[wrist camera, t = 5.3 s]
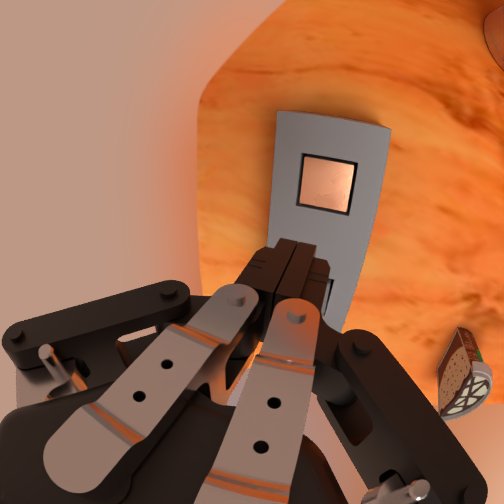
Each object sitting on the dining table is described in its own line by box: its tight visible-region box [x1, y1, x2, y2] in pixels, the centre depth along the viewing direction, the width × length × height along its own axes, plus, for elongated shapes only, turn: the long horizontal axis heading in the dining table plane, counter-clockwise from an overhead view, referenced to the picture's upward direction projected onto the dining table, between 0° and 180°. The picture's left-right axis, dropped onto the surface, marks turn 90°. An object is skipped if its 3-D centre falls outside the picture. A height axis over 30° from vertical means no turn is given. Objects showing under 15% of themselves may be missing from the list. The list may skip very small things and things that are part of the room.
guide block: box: [267, 111, 391, 333], centre depth 28 cm, size 22×9×8 cm, turn 177°
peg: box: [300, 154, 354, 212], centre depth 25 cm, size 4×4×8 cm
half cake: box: [437, 327, 492, 421], centre depth 28 cm, size 12×6×10 cm, turn 5°
